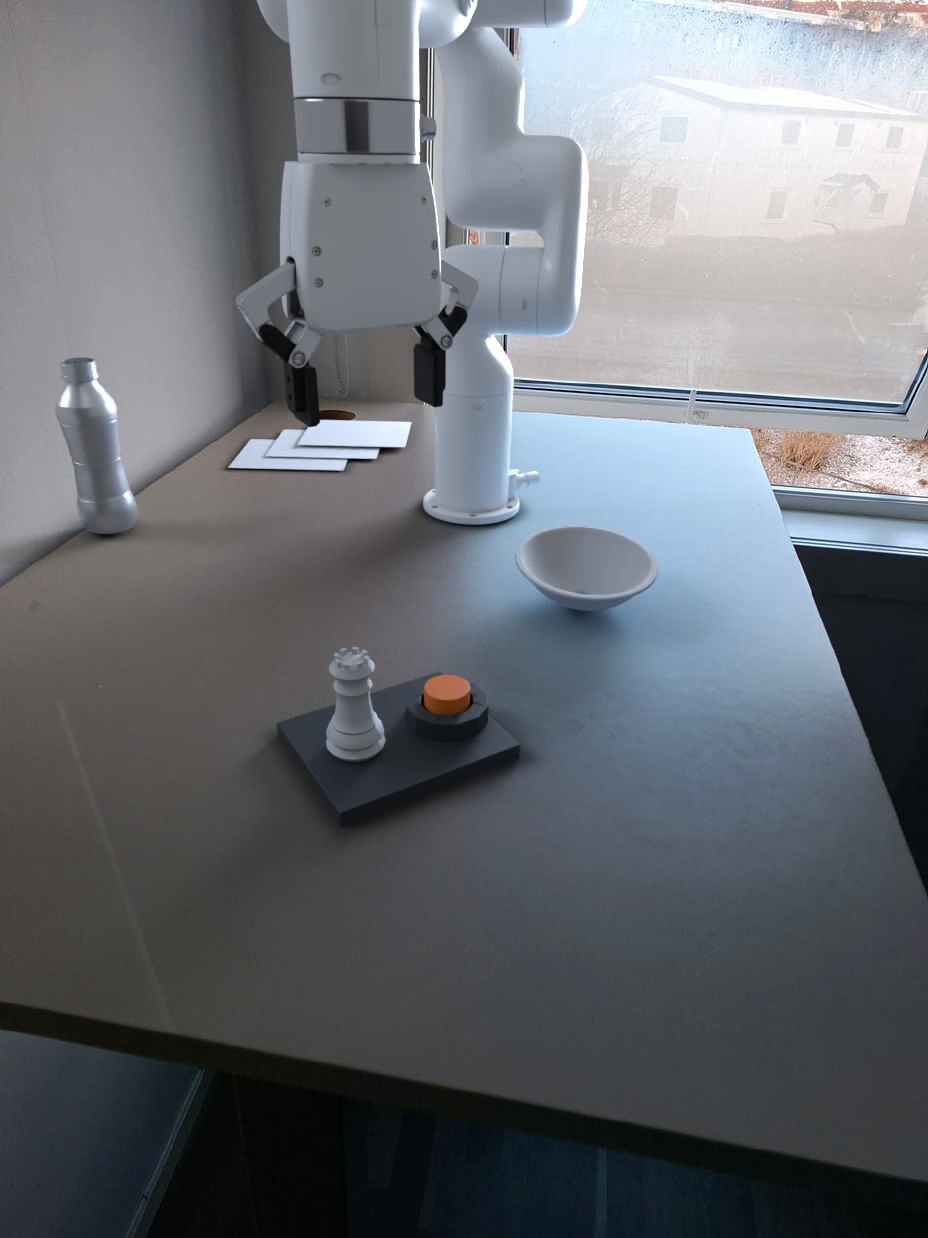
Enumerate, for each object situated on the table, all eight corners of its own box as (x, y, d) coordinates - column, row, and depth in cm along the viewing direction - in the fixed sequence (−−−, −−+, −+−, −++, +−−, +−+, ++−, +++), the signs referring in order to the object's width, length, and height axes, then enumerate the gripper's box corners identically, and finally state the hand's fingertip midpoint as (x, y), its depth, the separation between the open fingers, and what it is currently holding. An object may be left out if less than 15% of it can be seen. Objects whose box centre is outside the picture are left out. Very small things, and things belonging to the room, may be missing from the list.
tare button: (454, 686, 69) (454, 670, 68) (478, 708, 66) (478, 691, 65) (416, 698, 67) (415, 682, 66) (438, 721, 64) (438, 705, 64)
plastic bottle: (122, 543, 98) (88, 369, 88) (70, 537, 99) (30, 365, 90) (151, 522, 104) (121, 356, 94) (101, 517, 105) (67, 352, 95)
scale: (443, 683, 74) (443, 654, 72) (522, 757, 65) (524, 726, 63) (277, 736, 67) (274, 705, 65) (341, 828, 58) (338, 795, 56)
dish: (666, 647, 80) (673, 600, 77) (515, 643, 80) (517, 596, 78) (637, 567, 95) (642, 526, 93) (510, 563, 95) (512, 522, 93)
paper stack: (400, 471, 121) (400, 467, 121) (228, 467, 121) (227, 463, 121) (411, 425, 142) (411, 421, 141) (263, 422, 142) (263, 418, 141)
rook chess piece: (394, 735, 65) (392, 646, 61) (370, 770, 61) (366, 678, 57) (342, 723, 66) (337, 635, 62) (315, 757, 62) (308, 665, 58)
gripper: (447, 137, 58) (446, 384, 67) (200, 133, 50) (234, 415, 59) (509, 138, 53) (499, 408, 61) (241, 135, 45) (273, 445, 53)
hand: (369, 411), depth 60 cm, fingers open, 9 cm apart
